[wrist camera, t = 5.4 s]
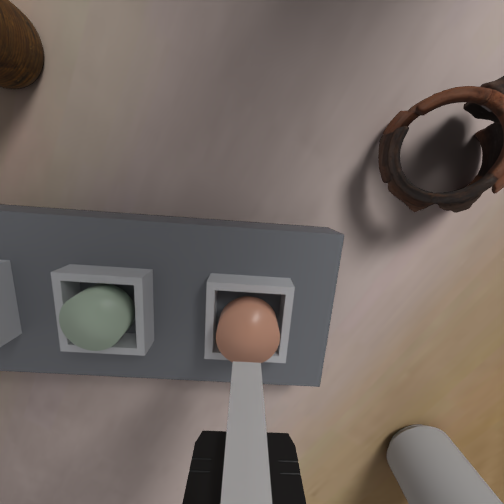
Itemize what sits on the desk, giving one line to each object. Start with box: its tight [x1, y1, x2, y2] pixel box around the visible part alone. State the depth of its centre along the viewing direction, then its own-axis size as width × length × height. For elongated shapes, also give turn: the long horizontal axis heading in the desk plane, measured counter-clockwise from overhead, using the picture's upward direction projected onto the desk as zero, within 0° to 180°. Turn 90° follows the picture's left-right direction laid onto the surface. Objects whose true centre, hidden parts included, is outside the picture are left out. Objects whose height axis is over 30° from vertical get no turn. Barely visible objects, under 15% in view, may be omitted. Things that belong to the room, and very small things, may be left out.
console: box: [0, 204, 344, 387], centre depth 21 cm, size 14×36×6 cm, turn 86°
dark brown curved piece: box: [378, 76, 504, 212], centre depth 19 cm, size 12×10×8 cm
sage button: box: [59, 283, 135, 351], centre depth 18 cm, size 4×4×2 cm
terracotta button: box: [216, 296, 280, 363], centre depth 18 cm, size 4×4×2 cm
